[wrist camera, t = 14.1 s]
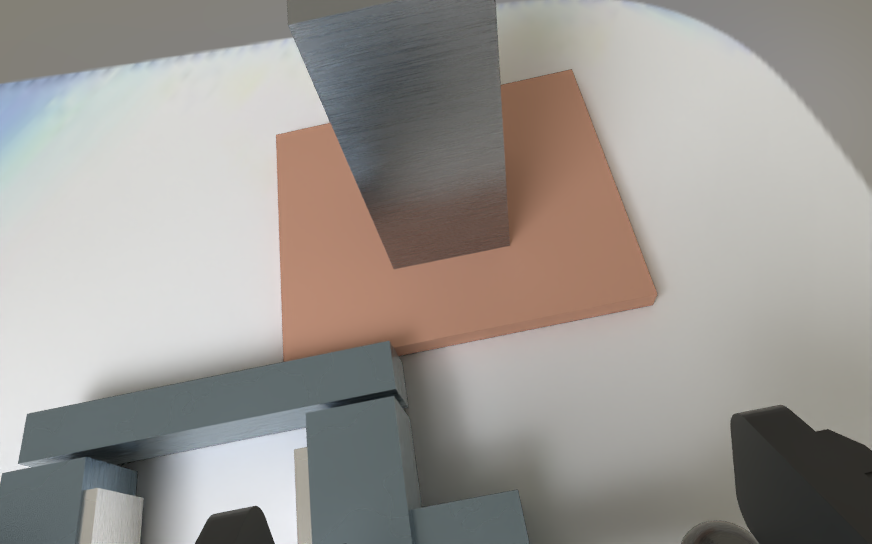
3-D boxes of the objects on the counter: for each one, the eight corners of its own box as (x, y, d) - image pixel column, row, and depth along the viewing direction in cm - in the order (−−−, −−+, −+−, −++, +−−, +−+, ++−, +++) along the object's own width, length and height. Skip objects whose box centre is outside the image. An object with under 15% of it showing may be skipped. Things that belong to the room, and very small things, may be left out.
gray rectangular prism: (393, 269, 20) (288, 25, 11) (374, 121, 23) (279, -158, 15) (510, 245, 20) (494, -22, 11) (473, 99, 23) (438, -197, 14)
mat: (292, 377, 20) (283, 369, 19) (283, 147, 24) (276, 135, 24) (652, 304, 19) (657, 294, 18) (570, 84, 24) (571, 69, 23)
